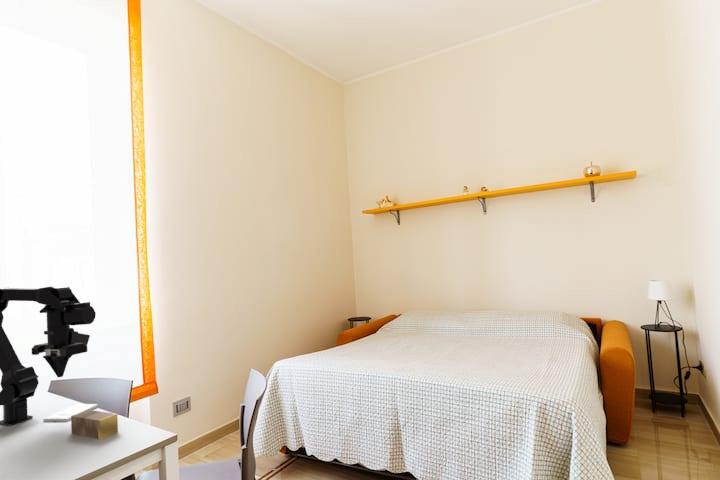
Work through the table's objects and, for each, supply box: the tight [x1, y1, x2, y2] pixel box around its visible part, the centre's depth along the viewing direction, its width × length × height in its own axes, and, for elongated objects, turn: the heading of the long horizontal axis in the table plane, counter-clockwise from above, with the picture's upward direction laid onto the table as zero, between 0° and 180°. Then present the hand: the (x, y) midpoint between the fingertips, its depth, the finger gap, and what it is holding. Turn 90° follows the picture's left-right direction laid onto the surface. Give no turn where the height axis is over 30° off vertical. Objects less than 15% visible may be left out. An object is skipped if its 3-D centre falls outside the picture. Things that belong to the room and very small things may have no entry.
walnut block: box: [70, 409, 119, 440], centre depth 116 cm, size 5×5×12 cm
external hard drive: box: [42, 403, 99, 423], centre depth 133 cm, size 2×8×12 cm
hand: (60, 376), depth 128 cm, fingers closed
